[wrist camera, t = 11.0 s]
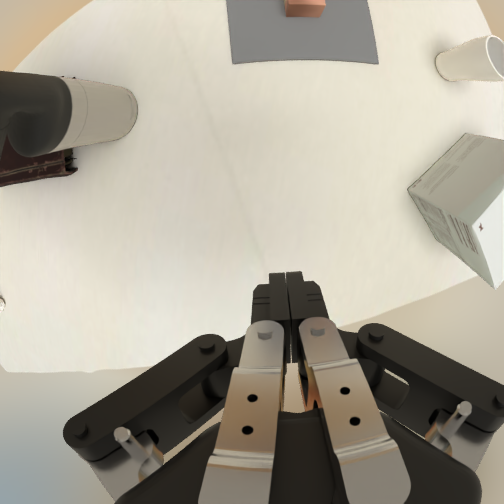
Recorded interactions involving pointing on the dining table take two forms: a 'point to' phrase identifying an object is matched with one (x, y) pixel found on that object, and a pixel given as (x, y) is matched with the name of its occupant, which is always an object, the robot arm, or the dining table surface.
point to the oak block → (304, 8)
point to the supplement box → (468, 203)
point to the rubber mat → (301, 32)
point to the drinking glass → (473, 60)
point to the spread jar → (1, 305)
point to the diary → (32, 165)
